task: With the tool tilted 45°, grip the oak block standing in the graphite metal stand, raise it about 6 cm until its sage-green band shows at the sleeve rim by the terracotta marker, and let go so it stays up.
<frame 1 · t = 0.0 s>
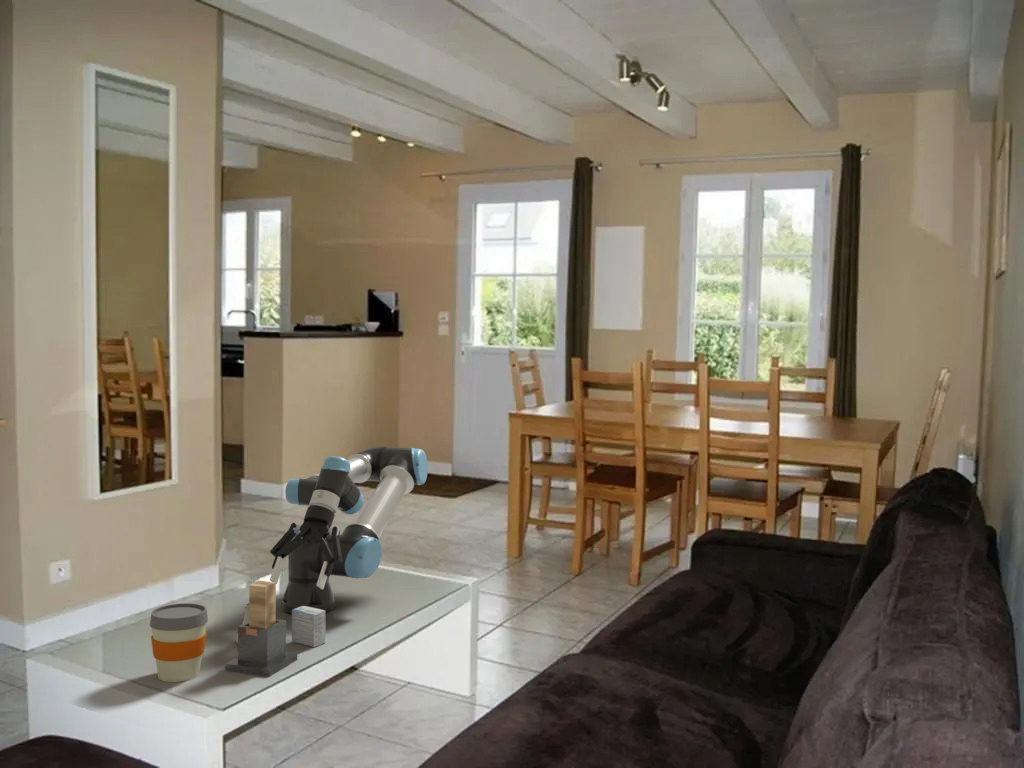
hand: (296, 584, 227), 15 cm above the table, tool tilted 35°, fingers open, 13 cm apart
reusable coffee cup: (178, 675, 205), on the table
metal stand: (261, 664, 212), on the table
flask: (250, 643, 229), on the table
oak block: (262, 620, 212), point 11 cm above the table, slide at 0.0 cm
medicine box: (308, 643, 229), on the table
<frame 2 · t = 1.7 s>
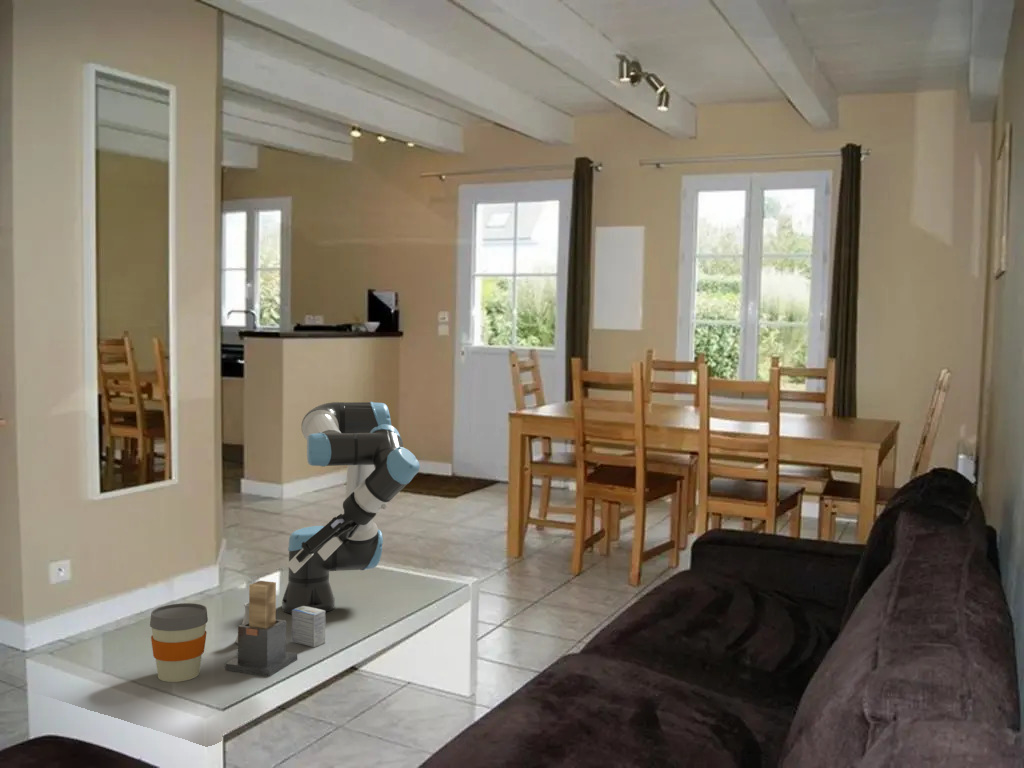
hand: (306, 562, 208), 26 cm above the table, tool tilted 45°, fingers open, 13 cm apart
nothing on the table moved.
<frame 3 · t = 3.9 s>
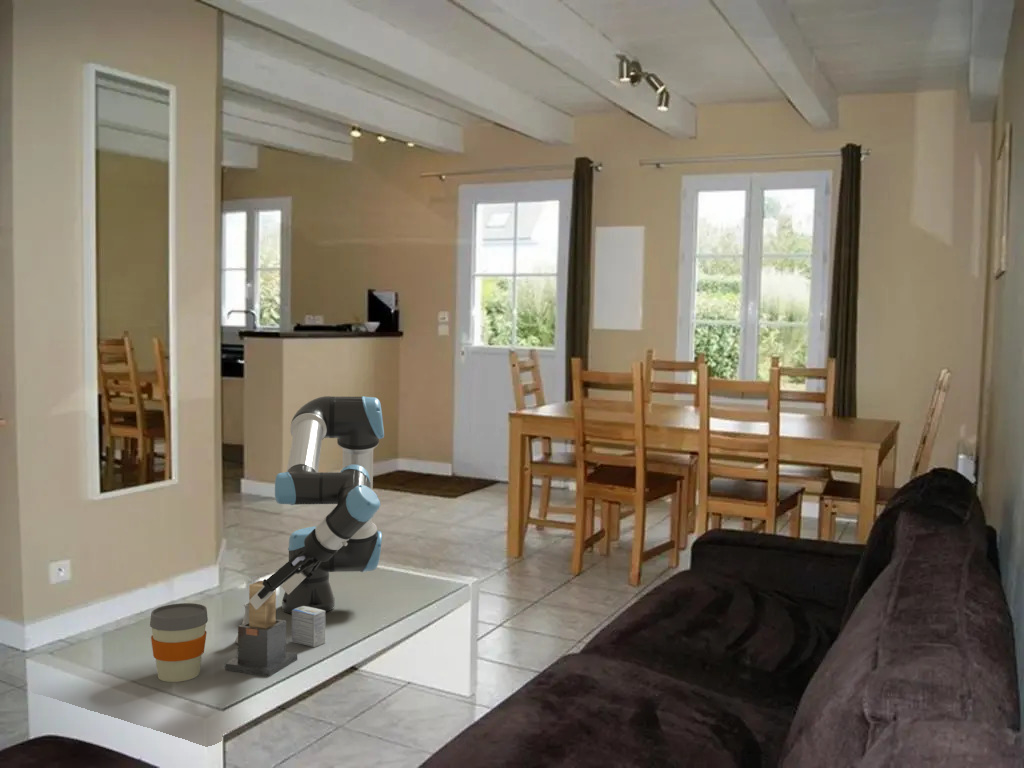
hand: (269, 597, 210), 17 cm above the table, tool tilted 45°, fingers open, 13 cm apart
nothing on the table moved.
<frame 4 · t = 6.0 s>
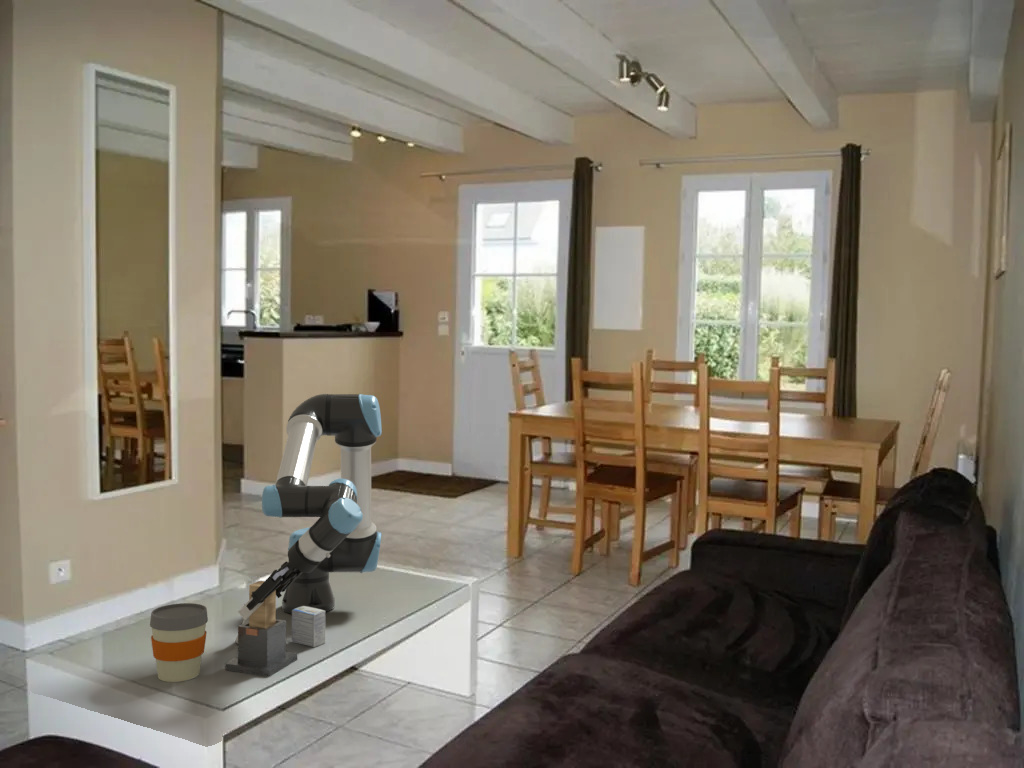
hand: (248, 612, 213), 12 cm above the table, tool tilted 45°, fingers closed on oak block, 4 cm apart
oak block: (262, 620, 212), point 11 cm above the table, slide at 0.0 cm, touching gripper
everything else where it was.
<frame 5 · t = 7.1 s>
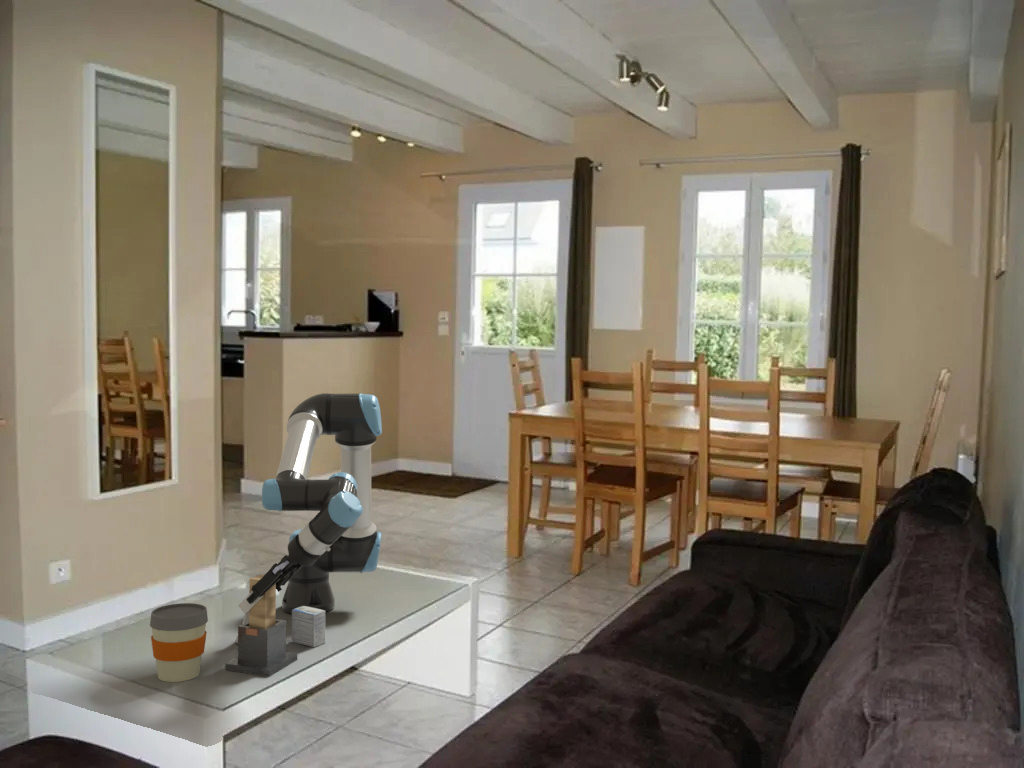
hand: (248, 606, 213), 14 cm above the table, tool tilted 45°, fingers closed on oak block, 4 cm apart
oak block: (262, 614, 212), point 12 cm above the table, slide at 1.5 cm, touching gripper
everything else where it was.
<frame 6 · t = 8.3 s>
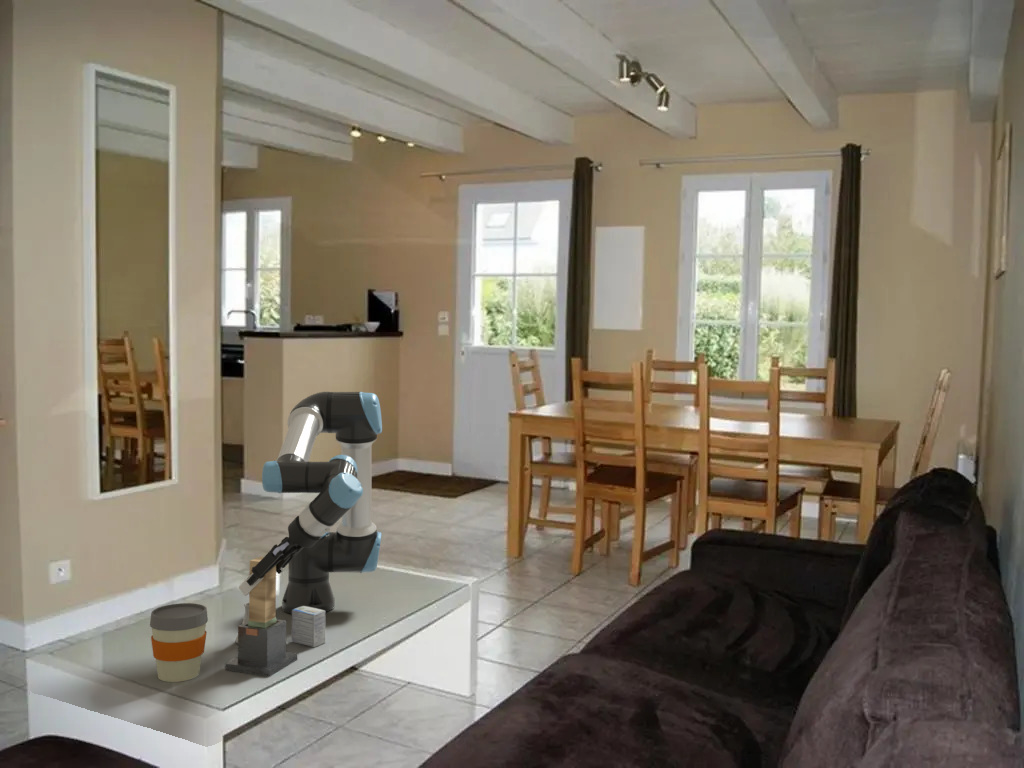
hand: (249, 588, 213), 18 cm above the table, tool tilted 45°, fingers closed on oak block, 4 cm apart
oak block: (262, 596, 212), point 16 cm above the table, slide at 5.9 cm, touching gripper
everything else where it was.
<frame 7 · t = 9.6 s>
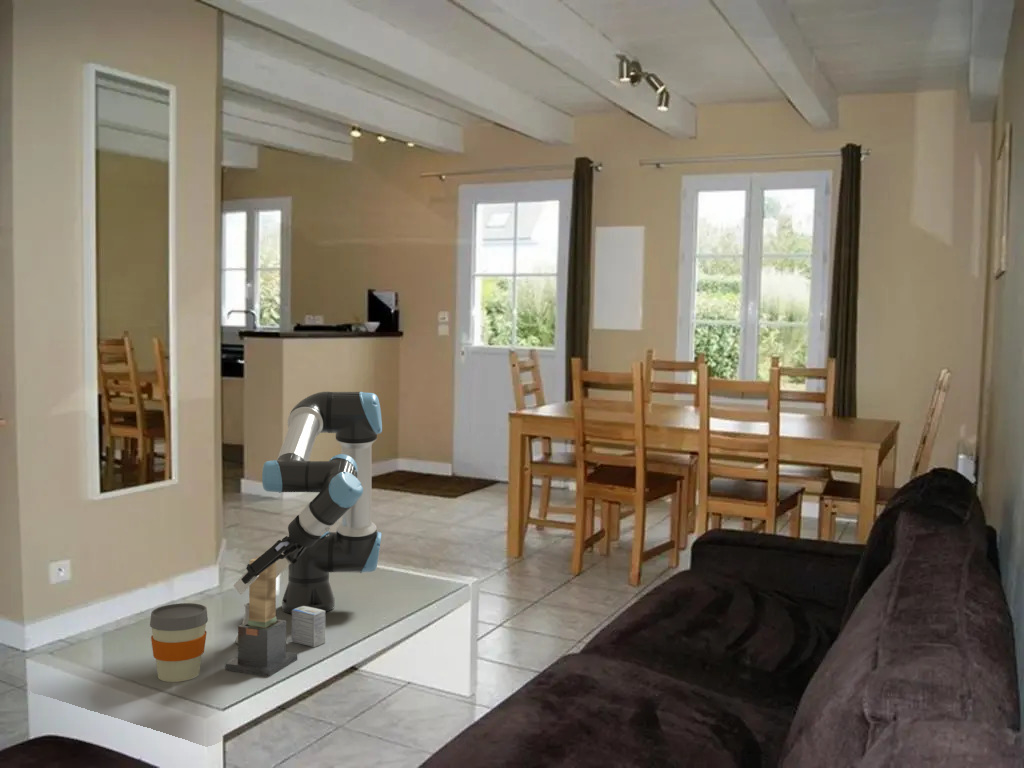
hand: (254, 582, 212), 20 cm above the table, tool tilted 45°, fingers open, 13 cm apart
oak block: (262, 596, 212), point 17 cm above the table, slide at 6.0 cm
everything else where it was.
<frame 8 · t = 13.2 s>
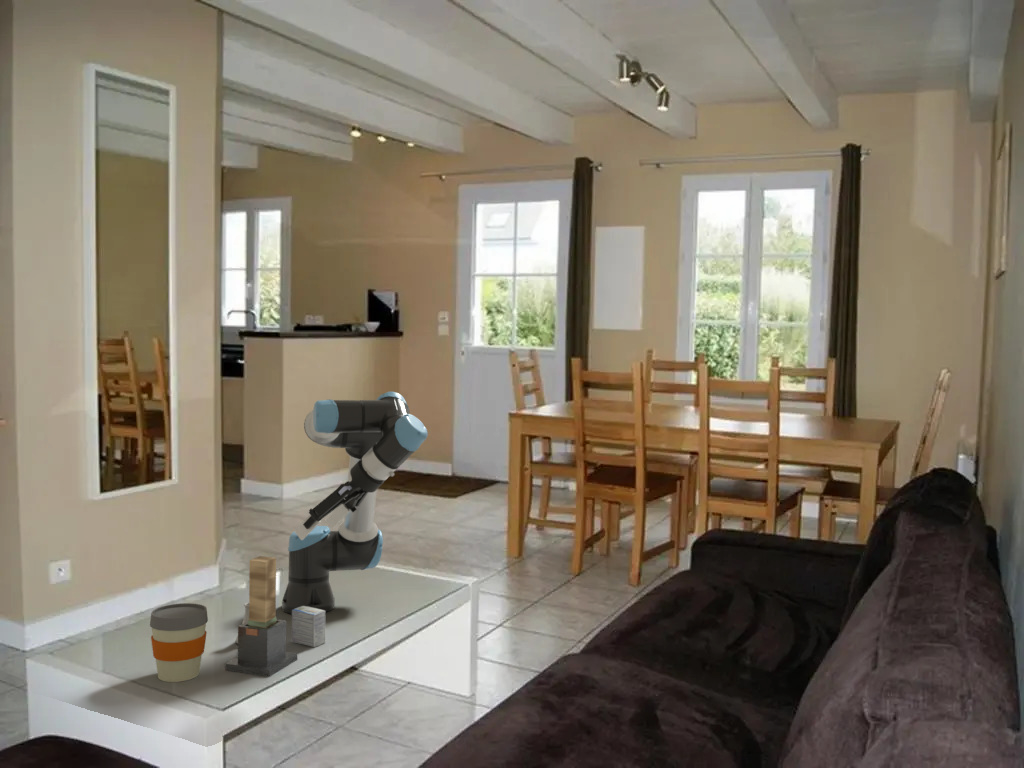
hand: (313, 530, 207), 34 cm above the table, tool tilted 45°, fingers open, 13 cm apart
nothing on the table moved.
at the end: oak block slide at 6.0 cm; the gripper is holding nothing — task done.
